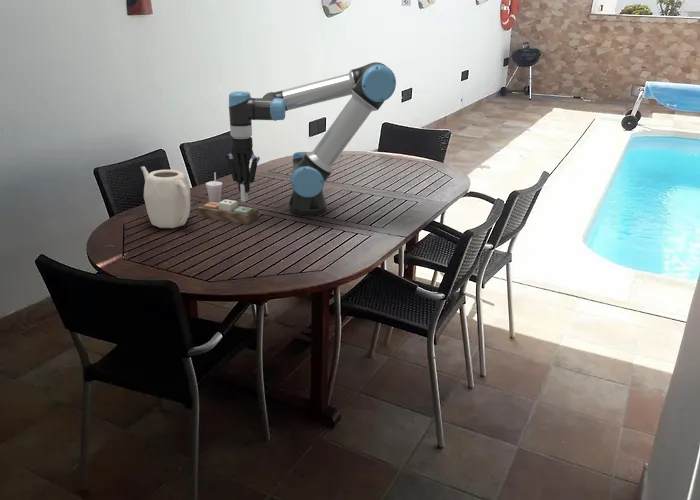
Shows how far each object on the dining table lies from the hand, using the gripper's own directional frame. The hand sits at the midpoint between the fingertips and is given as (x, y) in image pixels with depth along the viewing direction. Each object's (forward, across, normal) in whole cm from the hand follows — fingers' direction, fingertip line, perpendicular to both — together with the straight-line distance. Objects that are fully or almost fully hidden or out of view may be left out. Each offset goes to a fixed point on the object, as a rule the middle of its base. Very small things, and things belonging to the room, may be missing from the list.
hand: (244, 200), depth 224 cm
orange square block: (+7, +14, 0) cm, 15 cm away
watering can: (+7, +23, +16) cm, 29 cm away
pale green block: (+7, +1, 0) cm, 7 cm away
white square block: (+5, +7, 0) cm, 9 cm away
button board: (+7, +7, 0) cm, 10 cm away
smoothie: (+7, +18, -8) cm, 21 cm away
